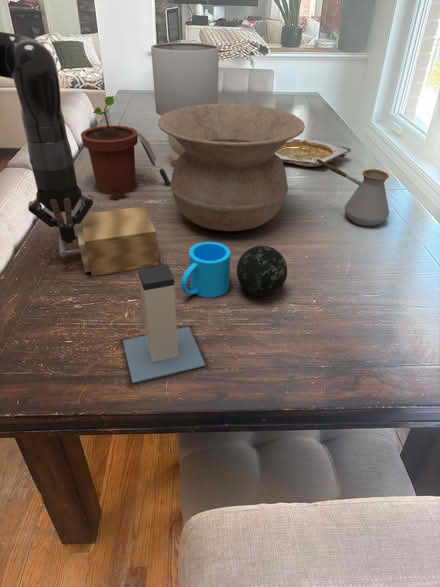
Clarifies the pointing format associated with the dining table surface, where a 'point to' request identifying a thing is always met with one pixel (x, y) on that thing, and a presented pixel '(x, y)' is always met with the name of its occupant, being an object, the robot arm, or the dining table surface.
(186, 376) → the dining table surface
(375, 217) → the coffee pot
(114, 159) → the potted plant
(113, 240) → the cabinet
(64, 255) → the drawer
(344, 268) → the dining table surface
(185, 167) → the pot
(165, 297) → the black-capped tall post
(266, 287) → the decorative stone
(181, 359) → the mat
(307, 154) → the pizza
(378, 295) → the dining table surface
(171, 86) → the lamp
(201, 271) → the mug
